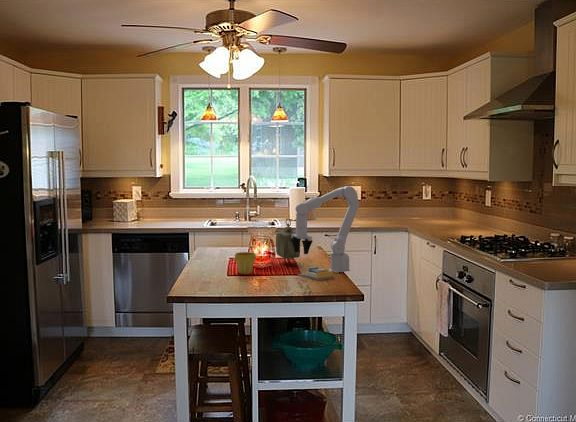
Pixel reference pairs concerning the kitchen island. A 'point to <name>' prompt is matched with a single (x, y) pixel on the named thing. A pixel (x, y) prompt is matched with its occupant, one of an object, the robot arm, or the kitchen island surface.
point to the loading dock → (318, 275)
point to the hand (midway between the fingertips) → (301, 253)
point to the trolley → (316, 269)
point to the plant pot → (245, 262)
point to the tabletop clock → (286, 244)
